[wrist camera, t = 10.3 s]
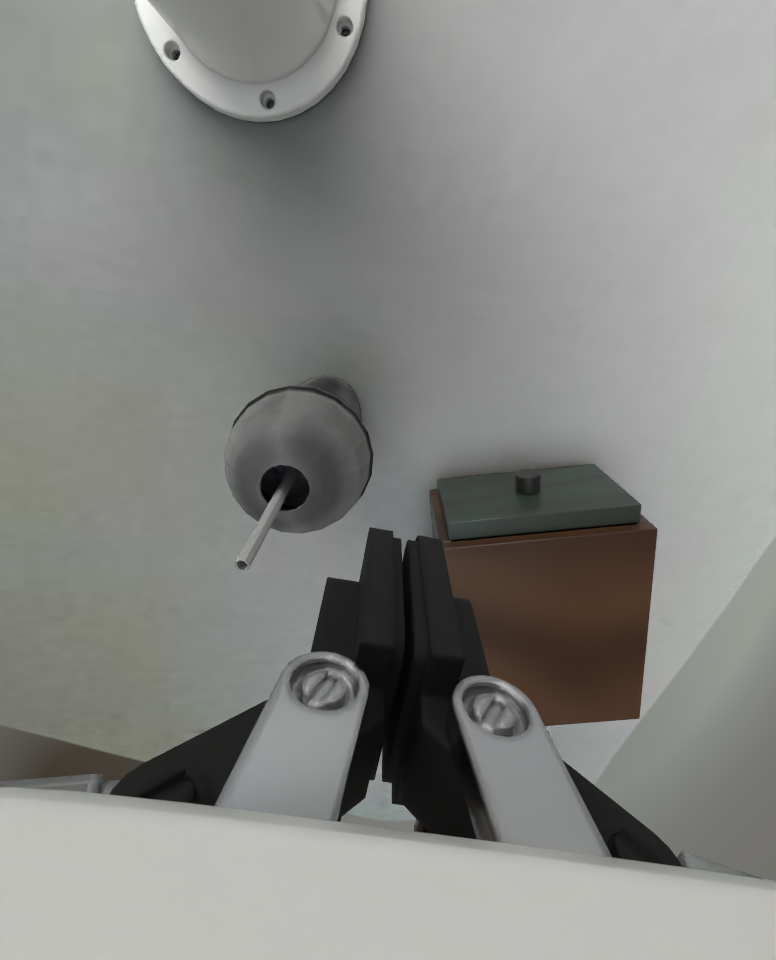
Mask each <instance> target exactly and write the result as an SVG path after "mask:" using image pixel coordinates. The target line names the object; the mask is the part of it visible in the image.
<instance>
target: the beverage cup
mask: <svg viewBox="0 0 776 960" xmlns="http://www.w3.org/2000/svg"><path fill="white" fill-rule="evenodd" d="M372 463H373V451H372V447H371V443H370V439H369V435H368V432H367V430H366V429H365V427H364V426H363V424H362V417H361V409H360V405H359V401H358V398H357V395H356V393H355V392H354V390H353V389H352V387H351V386H350V385H349V384H347V383H346V382H345V381H344V380H342V379H339V378H337V377H335V376H325V375H324V376H320V377H315V378H311V379H308V380H306V381H304V382H302V383H300V384H298V385H296V386H287V387H283V388H278V389H274V390H270V391H267V392H265V393H264V394H262V395H260V396H259V397H257V398H256V399H254V400H252V401H251V402H249V403H248V404H247V405H246V407H245V408H244V409H243V411H242V412H241V413H240V414H239V416H238V417H237V418H236V420H235V421H234V424H233V427H232V430H231V433H230V437H229V440H228V443H227V446H226V450H225V474H226V478H227V481H228V484H229V487H230V489H231V492H232V495H233V497H234V498H235V499H236V501H237V502H238V503H239V505H240V506H241V507H242V508H243V510H244V511H245V512H246V513H247V514H248V515H250V516H251V517H252V518H254V519H255V520H256V521H258V523H257V525H256V527H255V528H254V530H253V532H252V534H251V536H250V537H249V539H248V541H247V543H246V544H245V546H244V548H243V550H242V551H241V553H240V555H239V557H238V558H237V560H236V562H235V567H236V568H237V569H238V570H241V571H246V570H247V569H249V567H250V565H251V563H252V561H253V560H254V558H255V556H256V554H257V552H258V550H259V548H260V546H261V544H262V542H263V540H264V539H265V537H266V535H267V533H268V531H269V529H270V528H272V529H275V530H278V531H280V532H290V533H306V532H311V531H316V530H321V529H323V528H325V527H327V526H329V525H330V524H332V523H334V522H336V521H338V520H340V519H341V518H343V516H344V515H345V514H346V513H347V512H348V511H349V510H350V509H351V508H352V507H353V506H354V505H355V504H356V502H357V501H358V500H359V498H360V497H361V496H362V495H363V493H364V491H365V489H366V487H367V484H368V482H369V480H370V478H371V475H372Z"/></svg>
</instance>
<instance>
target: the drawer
mask: <svg viewBox="0 0 776 960" xmlns="http://www.w3.org/2000/svg"><path fill="white" fill-rule="evenodd" d="M437 484H438V495H439V499H440V504H441V508H442V512H443V517H444V521H445V525H446V530H447V534H448V538H449V540H452V542H455V541H466V540H476V539H487V538H497V537H508V536H519V535H529V534H540V533H550V532H561V531H572V530H582V529H593V528H603V527H611V526H610V525H618V524H629V523H639V522H640V513H641V504H640V503H639V502H638V501H636V500H635V499H634V498H633V497H632V496H631V495H629V494H628V493H627V492H626V491H625V490H624V489H623V488H621V487H620V486H619V485H618V484H617V483H616V482H614V481H613V480H612V479H611V478H610V477H609V476H607V475H606V474H605V473H604V472H603V471H602V470H600V469H599V468H598V467H597V466H596V465H595V464H587V465H577V466H567V467H557V468H547V469H537V470H521V471H517V472H507V473H497V474H487V475H477V476H467V477H457V478H447V479H438V480H437Z"/></svg>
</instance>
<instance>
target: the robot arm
mask: <svg viewBox="0 0 776 960" xmlns="http://www.w3.org/2000/svg"><path fill="white" fill-rule="evenodd" d="M134 2H135V6H136V9H137V12H138V15H139V19H140V21H141V23H142V25H143V28H144V30H145V32H146V34H147V36H148V38H149V40H150V42H151V44H152V46H153V48H154V49H155V51H156V52H157V54H158V55H159V57H160V58H161V60H162V61H163V63H164V64H165V66H166V67H167V68H168V70H169V71H170V72H171V73H172V74H173V75H174V76H175V77H176V78H177V79H178V80H179V82H180V83H181V84H182V85H183V86H184V87H185V88H186V89H188V90H189V91H190V92H191V93H192V94H193V95H194V96H195V97H197V98H198V99H199V100H200V101H202V102H204V103H205V104H207V105H208V106H210V107H212V108H213V109H215V110H216V111H218V112H221V113H223V114H226V115H229V116H231V117H234V118H236V119H240V120H247V121H254V122H269V121H280V120H283V119H286V118H289V117H292V116H296V115H299V114H300V113H302V112H304V111H305V110H307V109H309V108H311V107H312V106H314V105H316V104H317V103H318V102H319V101H320V100H321V99H322V98H324V97H325V96H326V95H327V94H328V93H329V92H330V91H331V90H332V89H333V88H334V87H335V85H336V84H337V82H338V81H339V80H340V78H341V77H342V76H343V74H344V73H345V71H346V70H347V68H348V66H349V64H350V62H351V60H352V57H353V55H354V53H355V51H356V49H357V47H358V43H359V40H360V36H361V33H362V29H363V26H364V22H365V14H366V6H367V0H134ZM345 29H347V30H349V31H350V35H349V36H347V37H344V36H342V35H341V34H342V31H343V30H345ZM177 53H180V57H179V59H178V60H176V61H175V55H176V54H177ZM270 100H273V101H274V102H275V105H274V107H273V108H271V109H269V108H268V107H267V103H268V101H270ZM381 750H382V781H383V782H389V783H392V804H399V805H404V806H405V807H406V808H407V809H408V810H409V811H410V812H411V814H412V815H413V816H414V817H415V818H416V821H415V825H414V831H407V830H400V829H392V828H385V827H376V826H369V825H361V824H353V823H346V822H341V817H342V816H343V815H344V814H346V813H347V812H348V811H349V810H351V809H352V808H353V807H354V806H356V805H357V804H358V803H359V802H361V801H362V800H363V799H364V798H365V796H366V792H367V788H368V784H369V780H374V779H375V775H376V771H377V767H378V763H379V758H380V754H381ZM0 960H776V881H770V880H764V879H761V878H759V877H756V876H753V875H750V874H747V873H745V872H742V871H739V870H736V869H733V868H731V867H728V866H725V865H722V864H720V863H717V862H714V861H711V860H708V859H706V858H703V857H700V856H697V855H694V854H691V853H689V852H686V851H683V850H682V851H681V853H680V854H679V856H678V857H676V856H675V855H674V854H673V852H672V851H671V850H670V848H669V847H668V846H667V845H666V844H665V843H664V842H663V841H662V840H661V839H660V838H659V837H658V836H656V835H655V834H654V833H653V832H652V831H651V830H650V829H648V828H647V827H646V826H644V825H643V824H642V823H641V822H639V821H638V820H637V819H636V818H634V817H633V816H632V815H631V814H629V813H628V812H627V811H626V810H624V809H623V808H622V807H621V806H619V805H618V804H617V803H616V802H614V801H613V800H612V799H611V798H609V797H608V796H607V795H606V794H604V793H603V792H602V791H600V790H599V789H598V788H597V787H595V786H594V785H593V784H592V783H591V782H589V781H588V780H587V779H586V778H584V777H583V776H582V775H581V774H579V773H578V772H577V771H576V770H574V769H573V768H572V767H570V766H569V765H568V764H567V763H565V762H564V761H563V760H562V758H561V757H560V755H559V753H558V751H557V749H556V747H555V745H554V743H553V741H552V739H551V737H550V735H549V733H548V731H547V729H546V727H545V725H544V724H543V722H542V720H541V718H540V716H539V714H538V712H537V710H536V708H535V707H534V705H533V704H532V702H531V701H530V699H529V698H528V697H527V696H526V695H525V694H524V693H522V692H521V691H520V690H519V689H518V688H516V687H515V686H513V685H511V684H510V683H508V682H506V681H504V680H501V679H498V678H496V677H491V676H490V674H489V670H488V666H487V662H486V658H485V654H484V650H483V647H482V643H481V639H480V635H479V631H478V627H477V623H476V619H475V615H474V611H473V608H472V604H471V602H470V600H468V599H462V598H455V597H453V594H452V589H451V584H450V579H449V574H448V569H447V564H446V559H445V554H444V549H443V544H442V540H441V539H436V538H430V537H424V536H417V538H416V541H411V540H408V541H407V544H406V548H405V552H404V557H403V561H402V548H401V539H399V538H393V531H388V530H382V529H376V528H369V533H368V538H367V543H366V548H365V554H364V559H363V564H362V569H361V575H360V580H359V582H355V581H349V580H343V579H336V578H330V577H328V578H327V581H326V586H325V590H324V595H323V600H322V604H321V609H320V613H319V618H318V622H317V627H316V631H315V636H314V640H313V645H312V649H311V652H310V653H307V654H304V655H301V656H298V657H297V658H295V659H294V660H292V661H291V662H289V663H288V665H287V666H286V667H285V669H284V670H283V671H282V673H281V675H280V677H279V679H278V681H277V683H276V685H275V687H274V689H273V691H272V693H271V695H270V697H269V699H268V700H266V701H264V702H262V703H260V704H258V705H256V706H254V707H252V708H250V709H249V710H247V711H245V712H243V713H241V714H239V715H237V716H235V717H233V718H231V719H229V720H227V721H225V722H223V723H221V724H219V725H217V726H215V727H213V728H211V729H210V730H208V731H206V732H204V733H202V734H200V735H198V736H196V737H194V738H192V739H190V740H188V741H186V742H184V743H182V744H180V745H178V746H176V747H174V748H173V749H171V750H169V751H167V752H165V753H163V754H161V755H159V756H157V757H155V758H153V759H151V760H149V761H147V762H145V763H143V764H142V765H140V766H139V767H137V768H135V769H134V770H132V771H131V772H129V773H128V774H126V775H125V777H124V778H123V779H121V780H120V781H107V782H102V774H90V775H77V776H65V777H54V778H53V777H52V778H41V779H28V780H15V781H4V782H3V781H2V782H0Z"/></svg>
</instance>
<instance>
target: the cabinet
mask: <svg viewBox="0 0 776 960" xmlns="http://www.w3.org/2000/svg"><path fill="white" fill-rule="evenodd" d="M429 492H430V504H431V515H432V527H433V538H436V539H441V540H442V544H443V549H444V554H445V559H446V564H447V569H448V574H449V579H450V584H451V589H452V594H453V597H455V598H462V599H468V600H470V602H471V604H472V608H473V611H474V615H475V619H476V623H477V627H478V631H479V635H480V639H481V643H482V647H483V650H484V654H485V658H486V662H487V666H488V670H489V674H490V676H491V677H496V678H498V679H501V680H504V681H506V682H508V683H510V684H511V685H513V686H515V687H516V688H518V689H519V690H520V691H521V692H522V693H524V694H525V695H526V696H527V697H528V698H529V699H530V701H531V702H532V704H533V705H534V707H535V708H536V710H537V712H538V714H539V716H540V718H541V720H542V722H543V724H544V725H545V726H550V725H563V724H576V723H589V722H602V721H615V720H628V719H639V716H640V706H641V695H642V685H643V674H644V664H645V653H646V643H647V633H648V622H649V612H650V601H651V591H652V580H653V570H654V559H655V549H656V539H657V528H656V527H655V526H654V525H653V524H652V523H650V522H649V521H648V520H647V519H646V518H645V517H644V516H642V515H641V514H640V522H639V523H629V524H618V525H610V526H611V527H603V528H593V529H582V530H572V531H561V532H550V533H540V534H529V535H519V536H508V537H497V538H487V539H476V540H466V541H455V542H452V540H449V538H448V534H447V530H446V525H445V521H444V517H443V512H442V508H441V504H440V499H439V495H438V490H432V491H429Z"/></svg>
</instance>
